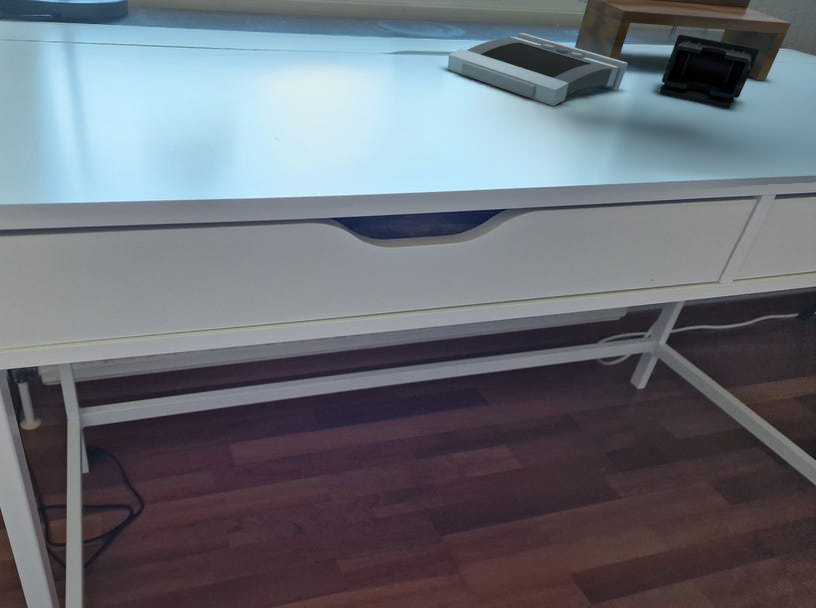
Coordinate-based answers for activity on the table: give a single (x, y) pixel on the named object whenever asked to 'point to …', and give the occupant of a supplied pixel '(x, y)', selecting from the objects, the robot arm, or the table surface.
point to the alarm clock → (537, 67)
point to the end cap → (707, 70)
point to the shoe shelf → (683, 25)
